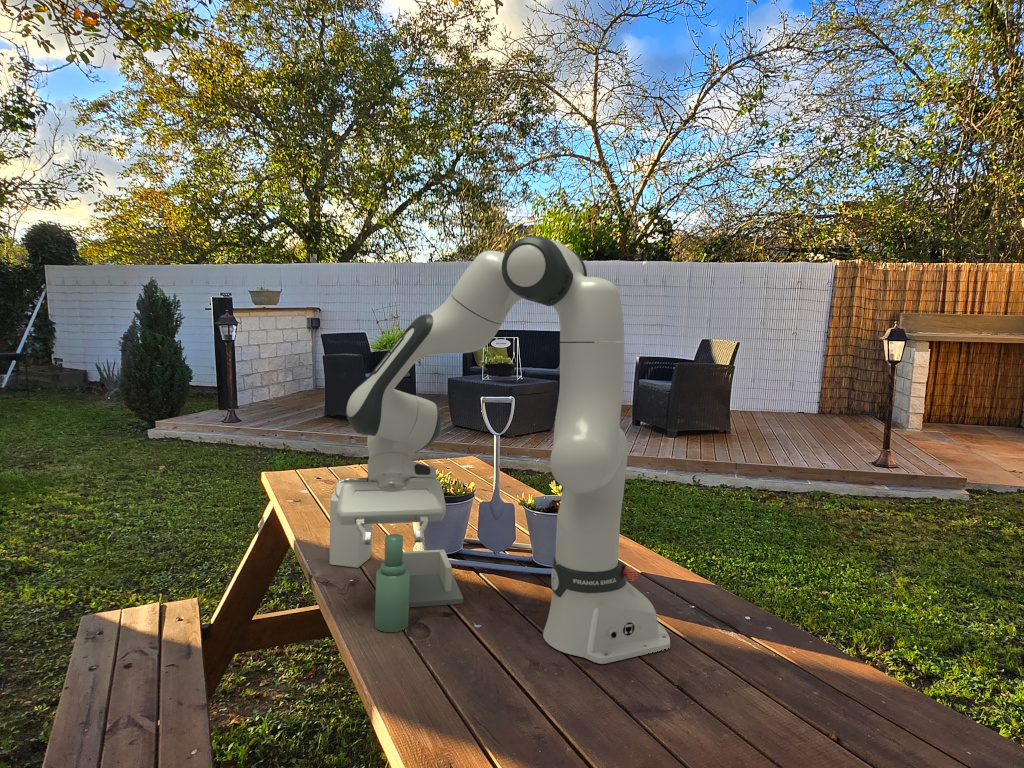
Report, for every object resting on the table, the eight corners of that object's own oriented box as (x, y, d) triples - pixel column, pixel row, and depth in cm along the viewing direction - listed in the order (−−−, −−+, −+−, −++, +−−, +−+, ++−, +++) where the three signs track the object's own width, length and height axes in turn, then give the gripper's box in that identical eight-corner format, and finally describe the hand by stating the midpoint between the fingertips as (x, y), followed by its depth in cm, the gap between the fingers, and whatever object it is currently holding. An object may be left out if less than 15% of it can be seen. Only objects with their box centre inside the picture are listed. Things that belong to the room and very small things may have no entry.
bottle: (406, 616, 120) (409, 531, 119) (409, 631, 114) (412, 541, 113) (374, 619, 119) (376, 532, 117) (375, 634, 113) (378, 542, 112)
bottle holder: (449, 570, 144) (449, 544, 144) (463, 603, 127) (464, 574, 127) (381, 574, 141) (382, 547, 140) (386, 609, 123) (387, 578, 123)
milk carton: (358, 568, 143) (359, 485, 142) (329, 565, 145) (330, 482, 143) (371, 557, 150) (373, 478, 149) (343, 554, 152) (344, 476, 150)
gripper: (335, 469, 120) (333, 536, 112) (443, 467, 125) (449, 531, 117) (335, 487, 125) (334, 552, 116) (439, 484, 130) (445, 547, 121)
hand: (393, 542), depth 117 cm, fingers open, 8 cm apart
